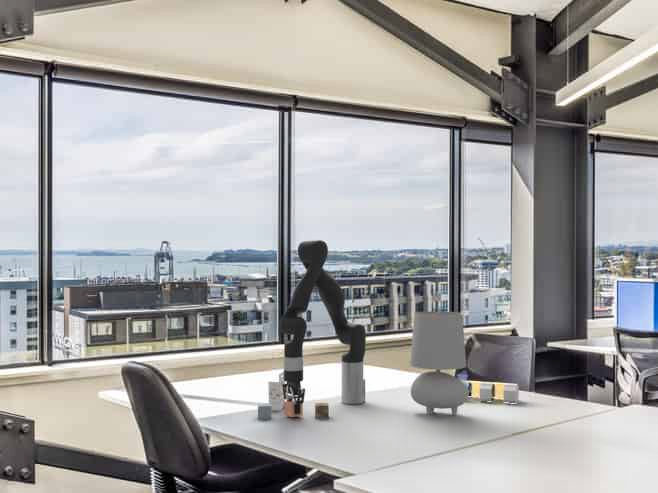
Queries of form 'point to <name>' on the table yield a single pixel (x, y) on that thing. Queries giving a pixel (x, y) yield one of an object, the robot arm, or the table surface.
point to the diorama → (491, 390)
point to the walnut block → (321, 410)
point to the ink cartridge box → (276, 393)
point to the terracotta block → (292, 409)
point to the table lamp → (438, 360)
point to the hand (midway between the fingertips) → (293, 412)
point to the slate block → (264, 411)
